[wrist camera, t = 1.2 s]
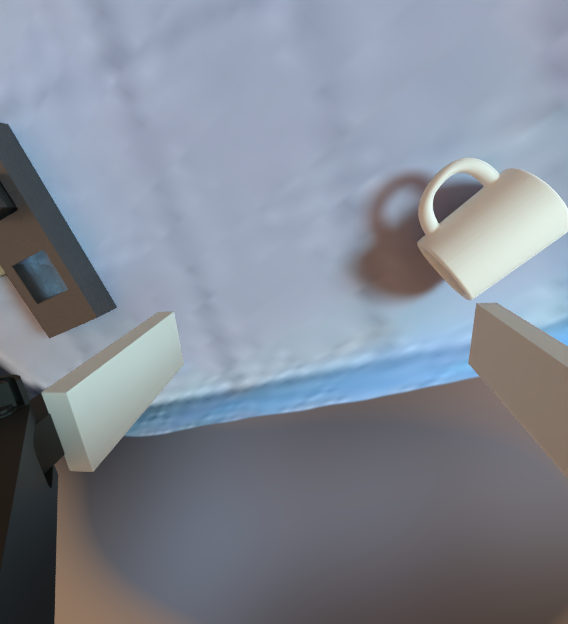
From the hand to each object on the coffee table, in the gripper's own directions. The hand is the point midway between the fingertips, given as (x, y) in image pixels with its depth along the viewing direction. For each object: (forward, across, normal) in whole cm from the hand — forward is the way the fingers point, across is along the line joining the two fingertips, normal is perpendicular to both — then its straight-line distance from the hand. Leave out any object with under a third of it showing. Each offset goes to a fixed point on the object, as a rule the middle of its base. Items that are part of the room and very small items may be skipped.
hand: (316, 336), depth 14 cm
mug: (+25, +15, +2) cm, 30 cm away
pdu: (+25, -36, +4) cm, 44 cm away
